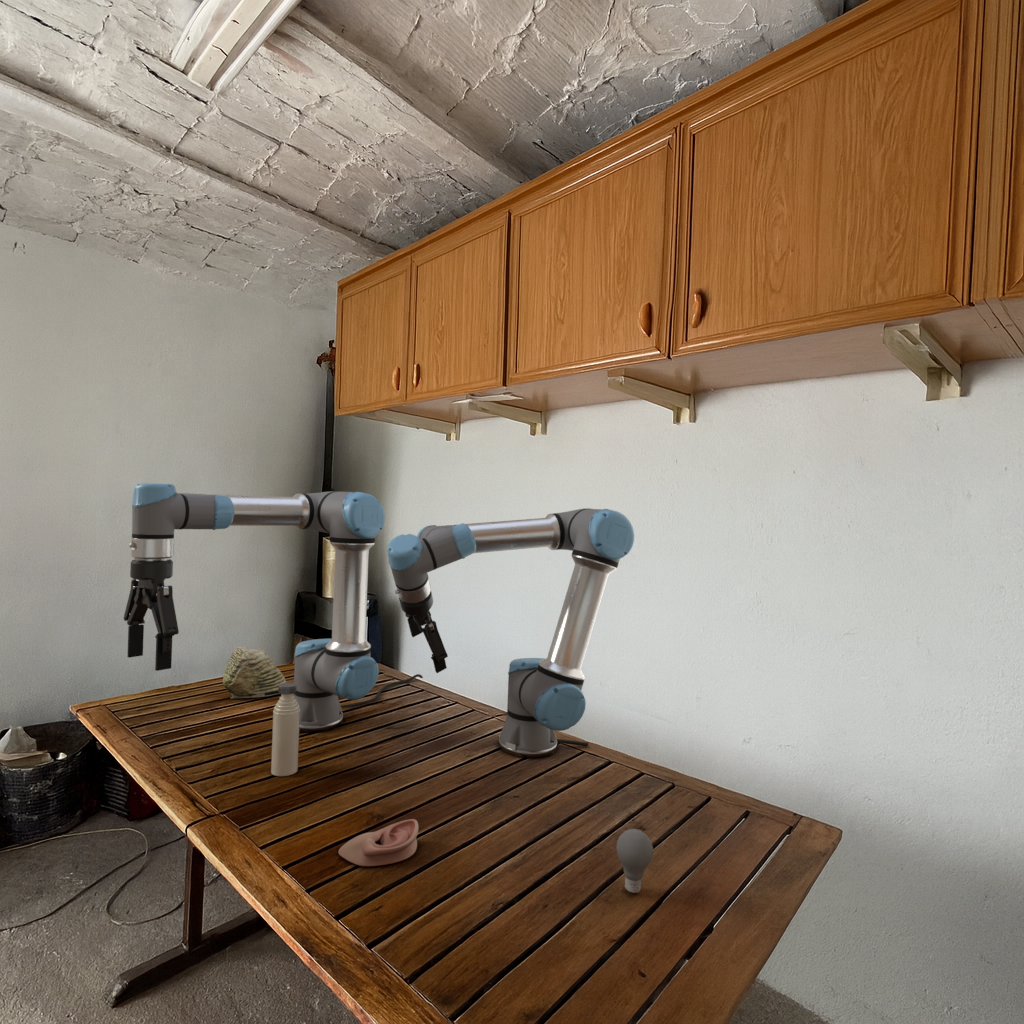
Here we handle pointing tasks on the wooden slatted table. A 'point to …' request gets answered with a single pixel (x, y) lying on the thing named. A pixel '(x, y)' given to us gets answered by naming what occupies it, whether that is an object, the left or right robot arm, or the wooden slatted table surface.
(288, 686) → the cap
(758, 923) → the wooden slatted table surface
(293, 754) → the bottle
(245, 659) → the fossil
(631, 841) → the light bulb
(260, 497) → the left robot arm
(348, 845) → the anatomical model
